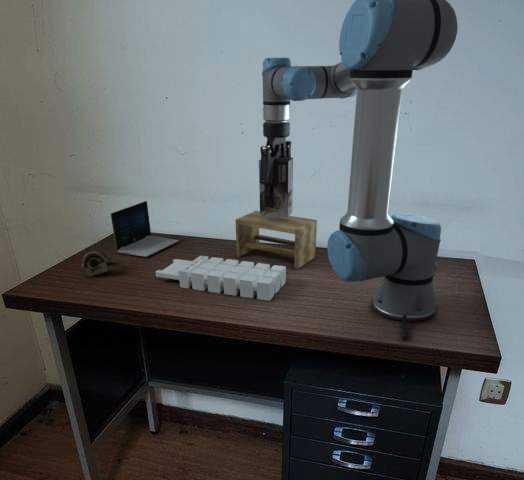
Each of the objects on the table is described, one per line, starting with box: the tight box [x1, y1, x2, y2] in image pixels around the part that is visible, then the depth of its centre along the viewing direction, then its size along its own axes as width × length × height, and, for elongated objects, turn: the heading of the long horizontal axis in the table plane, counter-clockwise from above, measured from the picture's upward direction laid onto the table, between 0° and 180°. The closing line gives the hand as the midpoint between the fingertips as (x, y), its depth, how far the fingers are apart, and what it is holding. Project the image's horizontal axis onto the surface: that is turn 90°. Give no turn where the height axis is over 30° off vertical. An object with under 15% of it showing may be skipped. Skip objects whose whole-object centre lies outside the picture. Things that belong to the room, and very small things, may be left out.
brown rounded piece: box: [80, 250, 113, 277], centre depth 149 cm, size 7×13×10 cm
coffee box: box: [258, 157, 294, 217], centre depth 148 cm, size 9×6×16 cm
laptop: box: [110, 200, 180, 258], centre depth 165 cm, size 18×12×13 cm
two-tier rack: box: [234, 210, 318, 270], centre depth 156 cm, size 12×22×12 cm, turn 58°
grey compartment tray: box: [155, 255, 287, 302], centre depth 140 cm, size 13×5×35 cm
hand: (276, 203), depth 151 cm, fingers closed on coffee box, 7 cm apart
